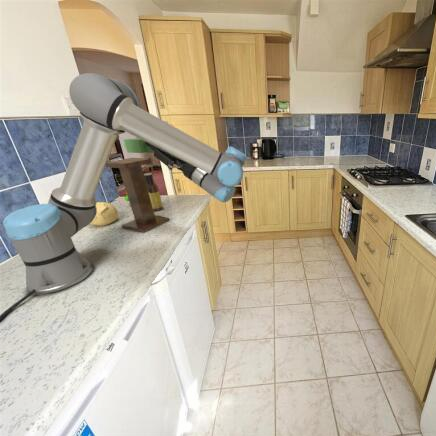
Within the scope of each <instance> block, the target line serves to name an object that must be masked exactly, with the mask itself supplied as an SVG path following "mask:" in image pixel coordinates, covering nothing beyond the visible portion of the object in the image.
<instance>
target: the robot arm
mask: <svg viewBox="0 0 436 436" xmlns="http://www.w3.org/2000/svg"><path fill="white" fill-rule="evenodd" d="M68 92H69V97H70V100H71V102H72V104H73V105H74V107H75V108H76V110H78V111H79V115H80V117H81V118H82V119H83V123H82V126H81V128H80V131H79V134H78V137H77V139H76V143H75V146H74V149H73V151H72V154H71V157H70V160H69V163H68V166H67V167H66V168H67V169H66V171H65V174H64V177H63V179H62V182H61V184H60V187H56V188H54V189H52V191H51V193H50V196H49V199H48V202H47V203H39V204H33V205H29V206H26V207H24V208H20V209H17V210H15V211H13V212H11V213H9V214H8V215H6V216H5V218H3V223H2V224H3V227H4V229H5V233H6V236H7V238H9V239H10V241H11V243H12V245H13V247H14V248H15V250H16V252H17V254H18V256H19V257H20V259H21V261H22V263H23V265H24V266H25V286H26V288H27V290H28V293H27V294H26V295H24V296H23V297H22V298H20V299H19V300H17V302H15V303H14V304H12V305H11V306H10V307H9V308H7V309H6V310H5V311H3V312H2V314H0V321H1V320H2V319H3V318H5V316H7V315H8V314H9V313H11V311H13V310H14V309H15V308H16V307H18V306H19V305H21V304H22V303H23V302H24V301H26V300H27V299H28V298H30V297H31V296H32V295H37V296H38V295H39V296H40V295H41V296H42V295H48V294H53V293H57V292H60V291H63V290H66V289H68V288H71V287H73V286H75V285H77V284H79V283H81V282H83V281H84V280H85V279H86V278H88V277H89V276H90V275H91V273H92V272H93V267H92V264H91V263H90V261H88V260H87V259H86V258H85V257H84V256H83V255H82V254H81V253H80V252H79V251H78V250H77V249H76V246H75V244H74V241H73V239H72V237H74V236H75V235H76V234H77V233H78V232H80V231H82V230H83V229H84V228H86V227H88V226H89V225H90V224H92V223H91V222H92V221H93V219H94V218H95V216H96V213H97V208H96V206H95V205H96V203H97V202H98V200H97V198H96V197H95V193H96V191H97V188H98V186H99V183H100V181H101V178H102V177H103V173H104V170H105V168H106V163H107V162H108V161H109V158H110V156H111V152H112V150H113V149H114V145H115V143H116V140H117V138H118V136H119V135H122V134H126V133H127V134H129V135H130V136H131V135H132V136H133V137H135V138H139V139H141V140H143V141H145V144H146V145H147V146H149V147H150V148H151V149H152V150H153V151H154V153H153V157H155V158H156V159H157V160H159V161H160V162H161V163H162V164H164V165H165V166H166V167H167V168H168V170H170V171H172V170H173V169H177V170H179V171H181V172H182V174H183V176H184V177H186V178H187V179H188V180H190V181H191V182H193V183H194V184H195V185H197V186H198V187H200V188H201V189H202V190H204V191H205V192H207V193H208V194H209V195H211V196H212V198H214V199H216V200H218V201H219V202H221V203H227V202H229V201H230V200H231V199H232V198H233V197H234V196H235V192H236V187H235V186H238V185H239V184H240V183H241V182H242V180H243V178H244V169H243V166H244V165H245V163H246V160H247V155H246V154H245V153H244V152H243V151H241V150H239V149H237V148H235V147H234V146H228V147H227V149H226V150H225V151H224V152H223V153H222V152H221V151H219V150H217V149H215V148H214V147H212V146H210V145H208V144H206V143H205V142H202V141H201V140H199V139H197V138H195V137H194V136H191V135H190V134H188V133H186V132H185V131H183V130H181V129H179V128H177V127H175V126H173V125H172V124H170V123H168V122H167V121H164V120H162V119H161V118H159V117H158V116H157V115H153V114H152V113H150V112H149V111H147V110H144V109H143V108H141V107H140V101H139V99H138V97H137V95H136V93H135V92H134V91H133V89H132V88H131V87H129V86H128V85H127V84H126V83H124V82H122V81H120V80H118V79H115V78H112V77H107V76H104V75H101V74H97V73H90V72H88V73H87V72H86V73H81V74H79V75H77V76H75V77H74V78H73V79H72V81H71V82H70V84H69V89H68Z"/></svg>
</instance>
